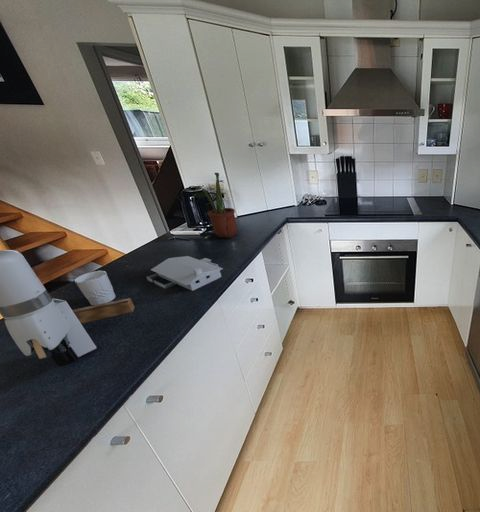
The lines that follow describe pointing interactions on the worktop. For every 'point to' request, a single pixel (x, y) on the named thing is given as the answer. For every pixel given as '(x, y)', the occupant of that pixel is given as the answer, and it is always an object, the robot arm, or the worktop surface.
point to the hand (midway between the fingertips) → (68, 361)
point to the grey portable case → (187, 272)
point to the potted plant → (220, 213)
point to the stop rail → (104, 310)
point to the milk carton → (76, 331)
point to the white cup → (96, 287)
